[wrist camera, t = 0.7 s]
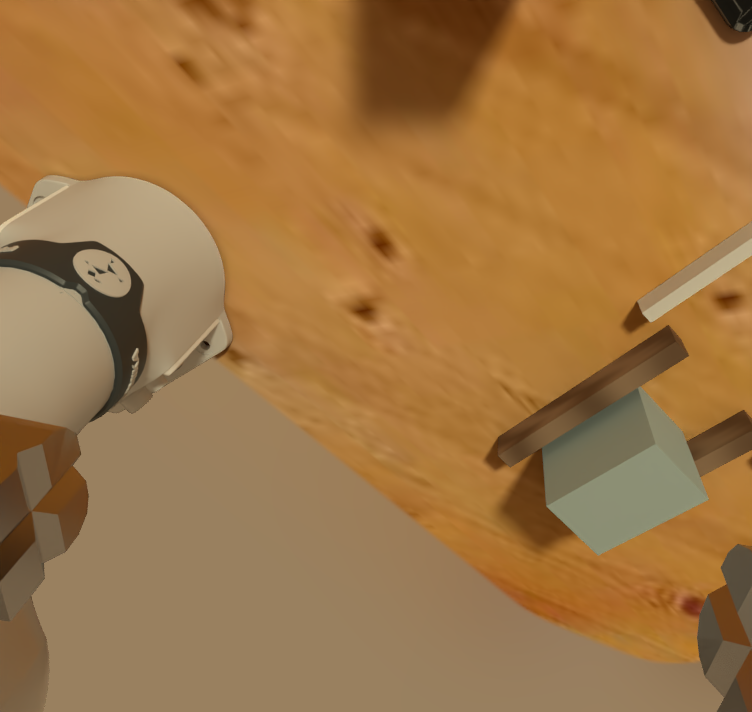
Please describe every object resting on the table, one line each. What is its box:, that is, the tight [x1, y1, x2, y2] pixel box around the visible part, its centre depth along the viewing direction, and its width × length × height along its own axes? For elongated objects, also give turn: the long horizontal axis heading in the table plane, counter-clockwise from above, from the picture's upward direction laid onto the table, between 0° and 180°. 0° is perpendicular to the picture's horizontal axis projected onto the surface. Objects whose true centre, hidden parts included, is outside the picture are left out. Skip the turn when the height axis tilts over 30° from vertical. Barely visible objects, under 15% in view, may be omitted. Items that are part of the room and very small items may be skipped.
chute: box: [498, 325, 752, 477], centre depth 51 cm, size 16×11×2 cm
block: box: [542, 387, 709, 555], centre depth 50 cm, size 9×6×8 cm, turn 136°
